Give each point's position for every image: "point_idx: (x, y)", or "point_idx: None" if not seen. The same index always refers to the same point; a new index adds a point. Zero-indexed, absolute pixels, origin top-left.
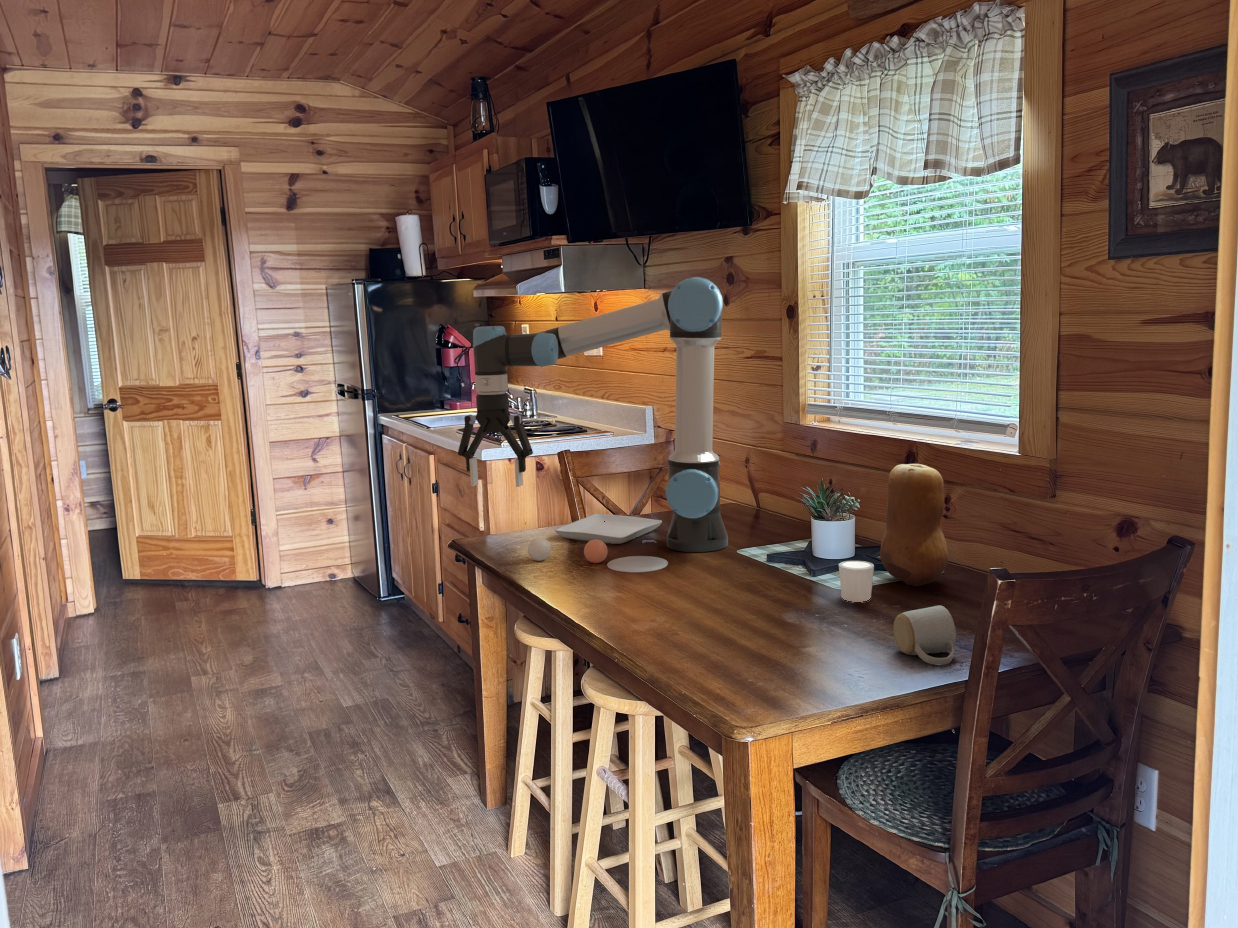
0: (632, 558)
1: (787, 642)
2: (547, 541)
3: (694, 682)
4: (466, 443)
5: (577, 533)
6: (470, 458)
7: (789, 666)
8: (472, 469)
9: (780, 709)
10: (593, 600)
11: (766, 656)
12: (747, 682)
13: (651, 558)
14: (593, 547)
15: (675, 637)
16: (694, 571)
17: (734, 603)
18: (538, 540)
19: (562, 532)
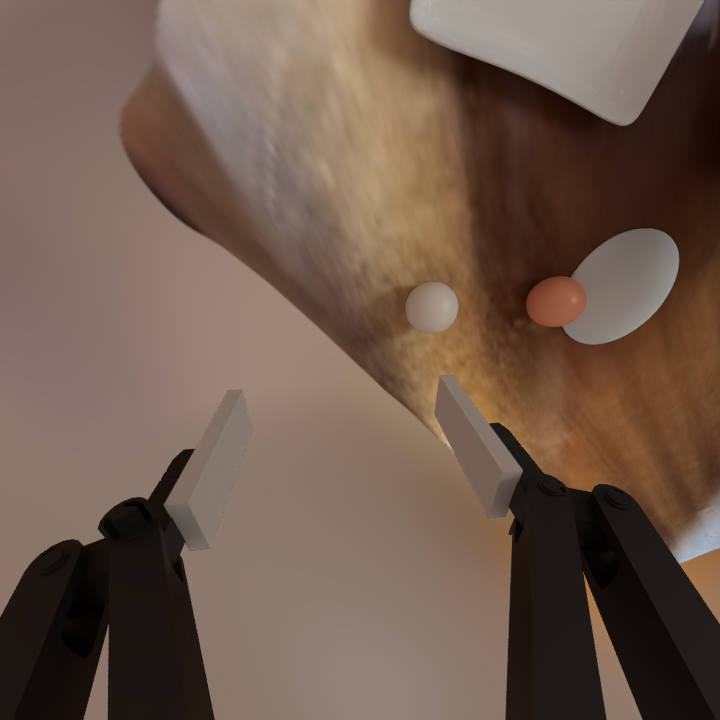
0: (614, 254)
1: (694, 505)
2: (456, 309)
3: None
4: (70, 693)
5: (496, 64)
6: (184, 541)
7: (673, 535)
8: (229, 489)
9: None
10: (535, 460)
11: (665, 527)
12: None
13: (653, 247)
14: (559, 326)
15: None
16: (703, 316)
17: (695, 435)
18: (440, 327)
19: (441, 44)
